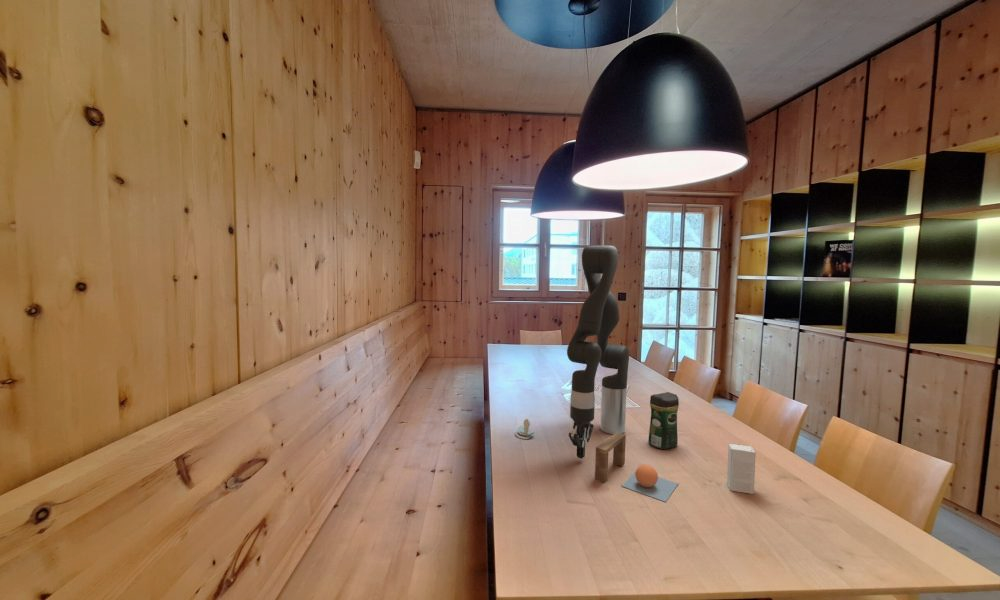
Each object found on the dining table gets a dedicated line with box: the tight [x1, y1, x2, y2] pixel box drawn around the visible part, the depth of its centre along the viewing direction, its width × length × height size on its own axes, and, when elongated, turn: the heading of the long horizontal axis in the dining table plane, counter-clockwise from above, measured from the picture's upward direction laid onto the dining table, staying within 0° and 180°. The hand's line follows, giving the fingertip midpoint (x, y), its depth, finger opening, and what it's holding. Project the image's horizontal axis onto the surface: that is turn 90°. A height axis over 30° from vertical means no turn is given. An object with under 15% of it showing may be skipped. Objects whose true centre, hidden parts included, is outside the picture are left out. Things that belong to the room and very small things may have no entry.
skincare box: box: [726, 443, 757, 495], centre depth 112 cm, size 6×4×12 cm
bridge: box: [594, 432, 627, 484], centre depth 121 cm, size 3×15×10 cm, turn 141°
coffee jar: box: [648, 391, 680, 450], centre depth 141 cm, size 10×8×19 cm
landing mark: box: [621, 472, 679, 503], centre depth 114 cm, size 12×12×1 cm
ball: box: [634, 463, 659, 487], centre depth 113 cm, size 6×6×6 cm
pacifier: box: [515, 418, 536, 440], centre depth 147 cm, size 7×6×6 cm
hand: (580, 457), depth 127 cm, fingers closed
